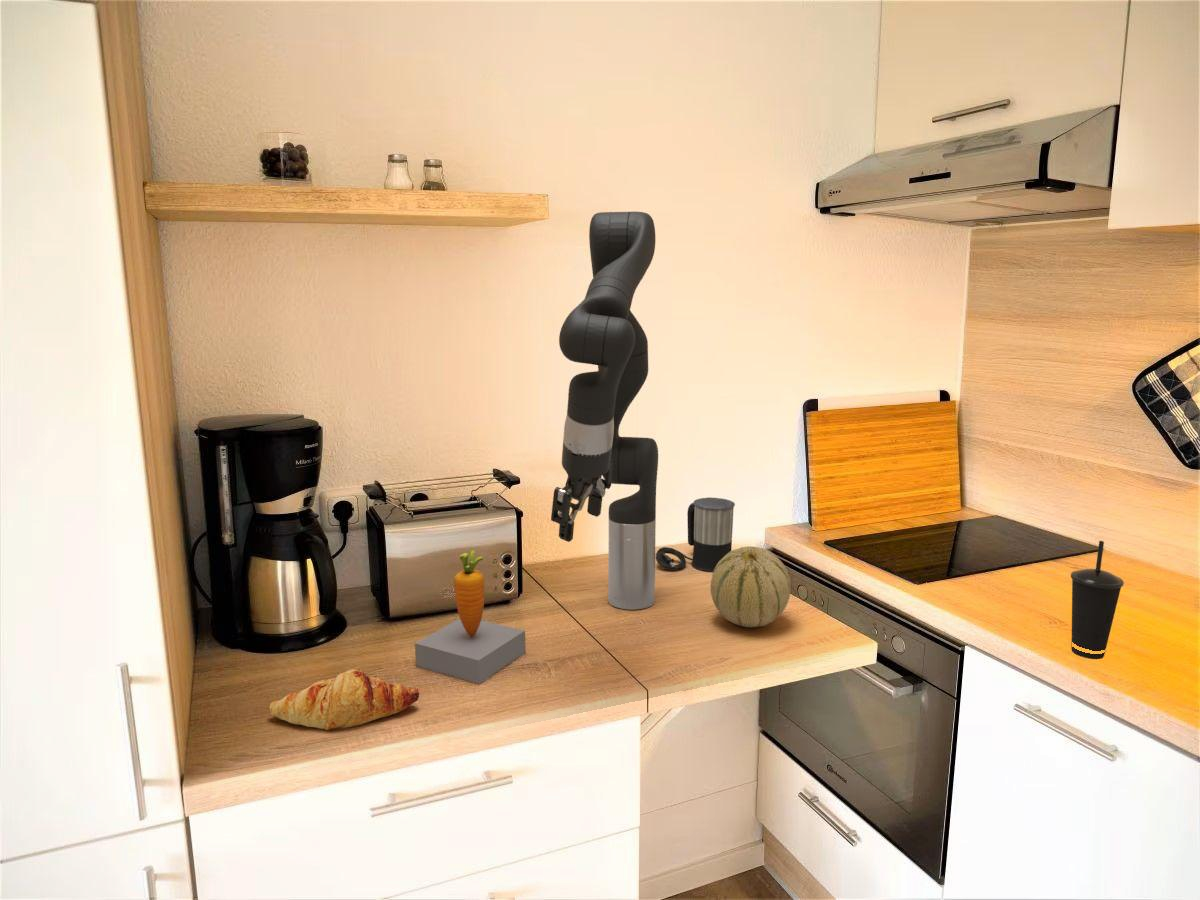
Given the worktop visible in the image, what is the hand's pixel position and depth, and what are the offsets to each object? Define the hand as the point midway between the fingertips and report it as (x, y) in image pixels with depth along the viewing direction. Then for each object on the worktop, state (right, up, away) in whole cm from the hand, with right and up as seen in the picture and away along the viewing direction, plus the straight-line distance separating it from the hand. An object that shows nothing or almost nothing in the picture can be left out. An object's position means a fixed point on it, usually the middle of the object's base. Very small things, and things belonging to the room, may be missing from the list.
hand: (579, 526), depth 131 cm
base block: (-18, -23, +5) cm, 30 cm away
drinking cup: (+87, -23, +8) cm, 90 cm away
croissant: (-34, -27, -12) cm, 45 cm away
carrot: (-18, -19, +4) cm, 27 cm away
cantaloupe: (+31, -20, +20) cm, 42 cm away
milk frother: (+25, -14, +51) cm, 59 cm away
